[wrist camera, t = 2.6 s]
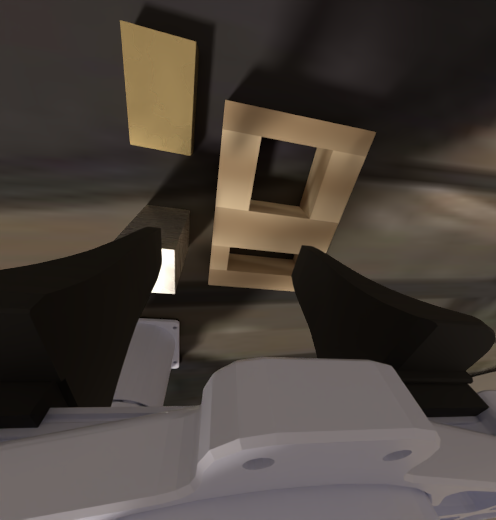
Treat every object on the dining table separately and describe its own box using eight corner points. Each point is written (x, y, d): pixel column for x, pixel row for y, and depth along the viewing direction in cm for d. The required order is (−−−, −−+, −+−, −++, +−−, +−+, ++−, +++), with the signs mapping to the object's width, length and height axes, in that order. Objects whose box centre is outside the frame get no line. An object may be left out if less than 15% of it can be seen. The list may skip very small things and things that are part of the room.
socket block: (300, 274, 24) (309, 292, 22) (210, 266, 23) (208, 284, 20) (353, 130, 17) (376, 132, 14) (225, 102, 15) (225, 99, 13)
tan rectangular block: (193, 152, 17) (190, 155, 16) (139, 141, 17) (130, 144, 15) (199, 50, 14) (196, 41, 12) (133, 32, 13) (119, 20, 12)
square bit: (188, 245, 21) (174, 294, 15) (149, 241, 21) (119, 290, 15) (189, 210, 19) (174, 249, 13) (146, 204, 19) (110, 243, 13)
